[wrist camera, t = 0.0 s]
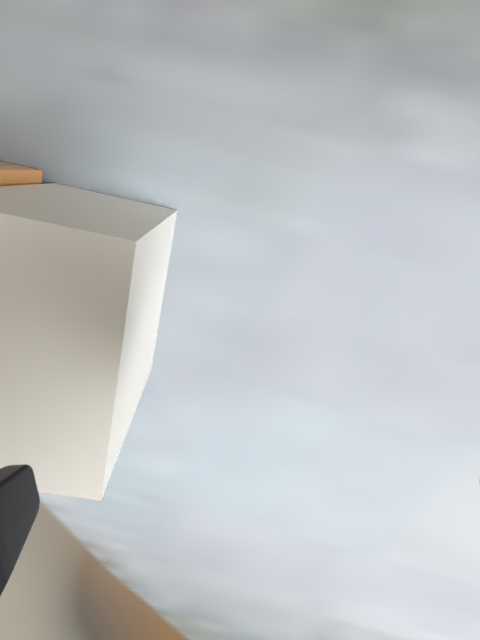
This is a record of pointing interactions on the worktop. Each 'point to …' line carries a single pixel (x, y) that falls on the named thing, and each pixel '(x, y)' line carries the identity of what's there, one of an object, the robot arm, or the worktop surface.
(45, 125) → the worktop surface
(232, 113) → the worktop surface
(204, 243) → the worktop surface
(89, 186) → the worktop surface
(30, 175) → the orange l-shaped block
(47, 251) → the block
